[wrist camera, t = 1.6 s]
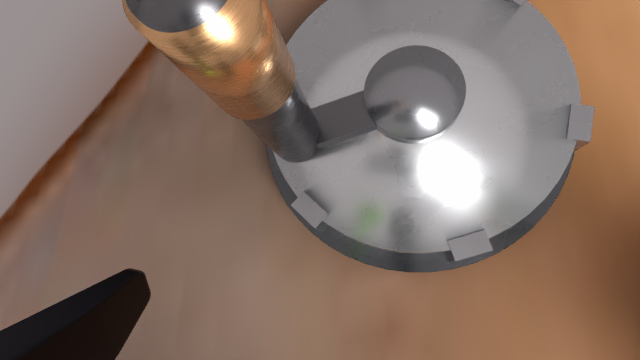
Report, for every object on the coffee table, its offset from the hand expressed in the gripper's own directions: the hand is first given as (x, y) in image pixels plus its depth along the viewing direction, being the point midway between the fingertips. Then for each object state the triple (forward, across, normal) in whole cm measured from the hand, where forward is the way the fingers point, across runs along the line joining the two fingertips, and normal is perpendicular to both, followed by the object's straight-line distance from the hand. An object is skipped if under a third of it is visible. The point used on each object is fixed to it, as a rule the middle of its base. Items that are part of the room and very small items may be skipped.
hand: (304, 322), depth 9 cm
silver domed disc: (+16, -1, 0) cm, 16 cm away
